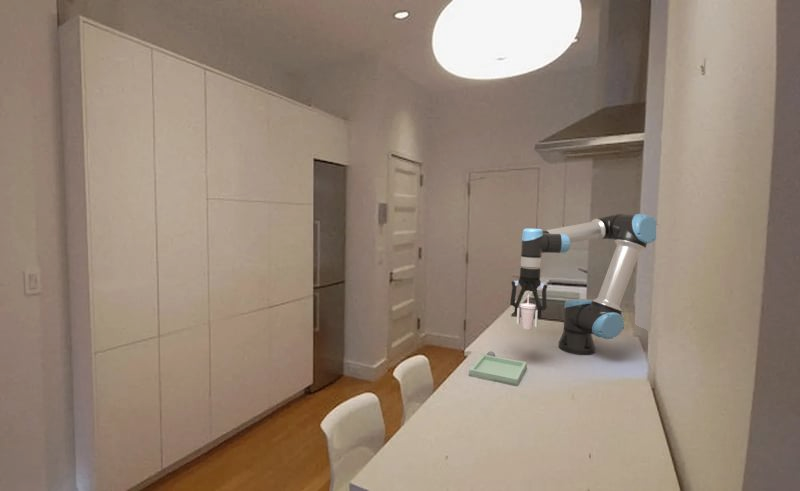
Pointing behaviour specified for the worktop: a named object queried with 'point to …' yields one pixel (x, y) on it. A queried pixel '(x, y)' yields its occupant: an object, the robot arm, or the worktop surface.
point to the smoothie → (527, 314)
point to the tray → (498, 369)
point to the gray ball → (491, 353)
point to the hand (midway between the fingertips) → (527, 324)
